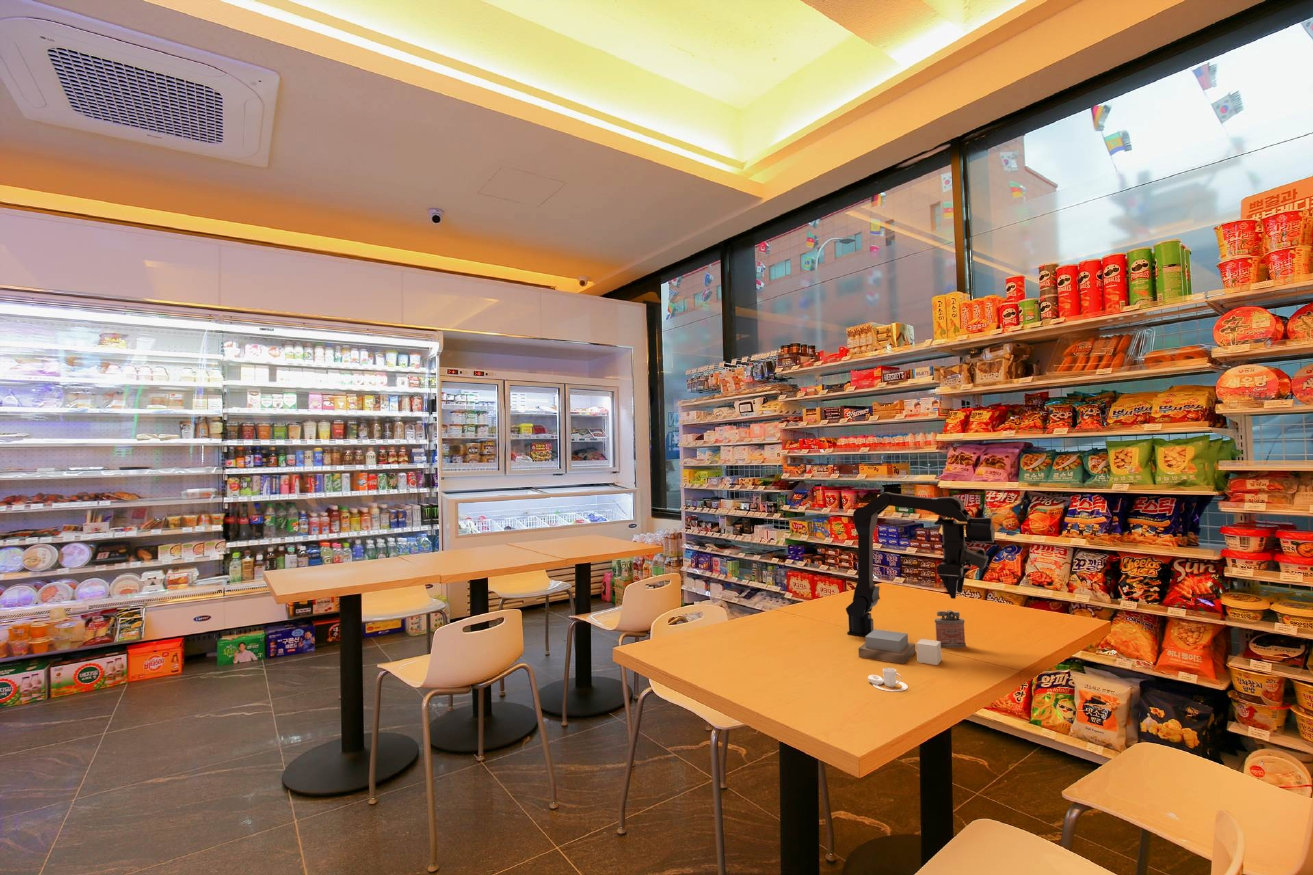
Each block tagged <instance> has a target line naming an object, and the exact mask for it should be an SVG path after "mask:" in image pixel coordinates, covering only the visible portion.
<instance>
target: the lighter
mask: <svg viewBox="0 0 1313 875" xmlns="http://www.w3.org/2000/svg"><path fill="white" fill-rule="evenodd" d="M936 616H938V617H939V618H934V623H935V634H936V635H935V639H936V640H935V641H941V648H947V649H948V648H954V649H956V648H966V646H967V645H966V644H967V643H966V637H965V619H964V618H960V616H961V614H960V611H953V610H950V609H949V610H947V611H945V610H938V611H936ZM940 617H941V618H940Z"/></svg>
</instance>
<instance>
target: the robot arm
mask: <svg viewBox="0 0 1313 875" xmlns="http://www.w3.org/2000/svg"><path fill="white" fill-rule="evenodd" d="M889 506H891V507H898V508H904V509H906V508H907V509H912V510H920V511H921V510H922V511H928V512H930V513H933V514H936V515H939V517H938V519H937V520H936V521H934V525H936V526H941V530H942V532H941V533H942V544H941V549H943V551H942V552H943V558H942V562H941V563H940V564H938V565H937V566H936V575H938V577H939V578H940V580H941V581H942V583H943V585H944V587H945V589H946V591H947V593H948V596H949V597H950V599H953V600H956V598H957V593H960V594H961V593H963V589H964V584H965V578H966V574H967V573H968V572H969V571H971V570H972V567H973V566H974V567H977V569H980V570H984V569H985V568H986V566H987V564H988V561H989V556H988V555H986V550H984V549H982V548H978V549H977V550H971V549H969V546H968V544H967V543H966V539H965V538H967V540H968V539H969V540H970V542H976V543H995V535H996V534H995V528H994V523H993V518H992V517H983V518H982V517H973V516H972V515H971V514H970V513H969V511H968V510H967V509H966V508H965V503H964V501H963V500H962V499H961V498H960V497H958V496H942V497H941V496H940V497H927V496H918V495H910V494H909V495H908V494H902V493H894V492H890V491H885V492H881V493H880V494H878V496H877V497H876V498H874V499H872V500H871V501H869V502H868V503H866V505H864V506H859V507H857V508H856V509H855V510H854V511H853V513H852V519H853V524H854V525H853V526H854V528H855V530H856V533H857V582H856V585H855V588H854V591H853V595H852V596H853V597H852V601H851V603H850V604H849V605H848V606H847V607H846V608H845V612H846V614H847V615H848V631H847V632H846V633H847V635H852V636H859V637H865V636H867V635H868V634H869V633H871V632H872V631H873V630H875V628H874V619H873V618H872V613H871V612H872V611H873V608H874V607H876V605H877V604H878V601H879V600H881V597H880V589H881V587H880V586H879V585H876V584H875V583H874V582H875V581H874V533H875V531H876V527H877V524H878V518H879V515H880V514H882V513H883V512H884V511H885V510H886V509H887V508H889Z"/></svg>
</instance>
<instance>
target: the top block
mask: <svg viewBox="0 0 1313 875" xmlns="http://www.w3.org/2000/svg"><path fill="white" fill-rule="evenodd" d="M908 636H909V635H908V633H906V632H898V631H891V630H884V629H875V628H874V630H873V631H872V632H871V633H869V634H868V635H867V636H864V637H865V639H864V640H865V642H864V643H865V644H866V648H872V649H878V650H885V651H892V652H898V653H900V652H901V651H902V650H903V649H904V648H905V647H906V646H907V645H908V643H909V637H908Z"/></svg>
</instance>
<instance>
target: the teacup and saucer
mask: <svg viewBox="0 0 1313 875" xmlns="http://www.w3.org/2000/svg"><path fill="white" fill-rule="evenodd" d="M882 675H883V676H882V677H883V678H882V677H881V676H880V675H877V674H870V675H868V676H867V680H868V682H870V683H871V684H872V686H873V687H874V688H876V689H878V690H881V691H886V692H894V693H895V692H903V691H906V690H908V687H909V686H908V685H907V684H906V683H905V682H903V681H901V679H902V675H901V674H900V673H898V672H897V669H896V668H892V667H884V668H882ZM897 675H898V676H899V679H898V680H897ZM883 684H884V685H885V686H886V687H888V688H895V687H896V686H897V685H900V686H901V688H899V689H898V688H897V689H888V688H884V687H882V686H881V685H883Z"/></svg>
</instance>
